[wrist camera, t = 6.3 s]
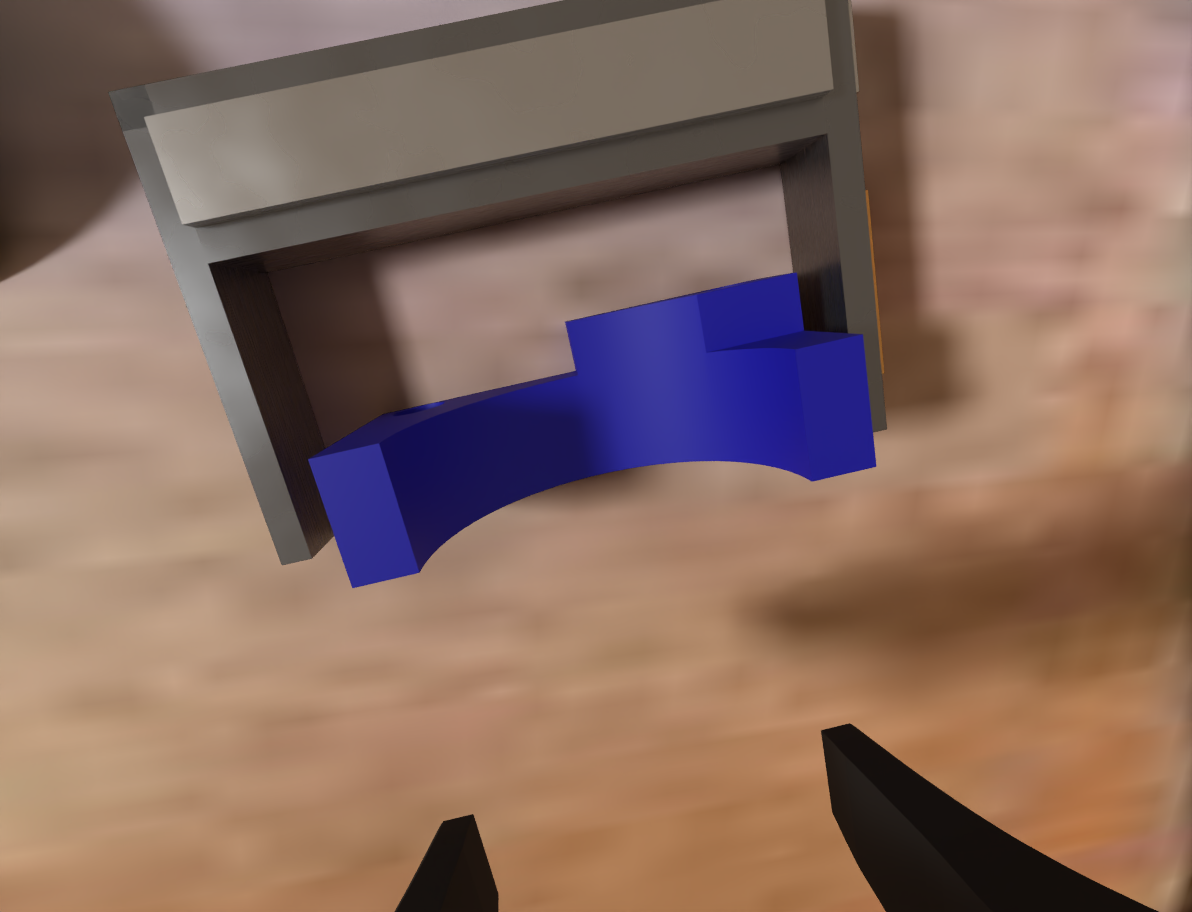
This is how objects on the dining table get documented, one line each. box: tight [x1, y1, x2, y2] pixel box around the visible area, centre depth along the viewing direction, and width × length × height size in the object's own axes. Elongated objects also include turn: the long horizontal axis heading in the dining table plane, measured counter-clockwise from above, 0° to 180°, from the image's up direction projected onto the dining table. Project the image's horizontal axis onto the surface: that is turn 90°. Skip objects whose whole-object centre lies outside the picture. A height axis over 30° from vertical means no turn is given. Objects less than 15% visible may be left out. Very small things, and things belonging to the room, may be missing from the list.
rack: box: [108, 0, 887, 565], centre depth 16 cm, size 11×17×4 cm
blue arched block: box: [308, 272, 876, 588], centre depth 16 cm, size 12×4×6 cm, turn 102°
